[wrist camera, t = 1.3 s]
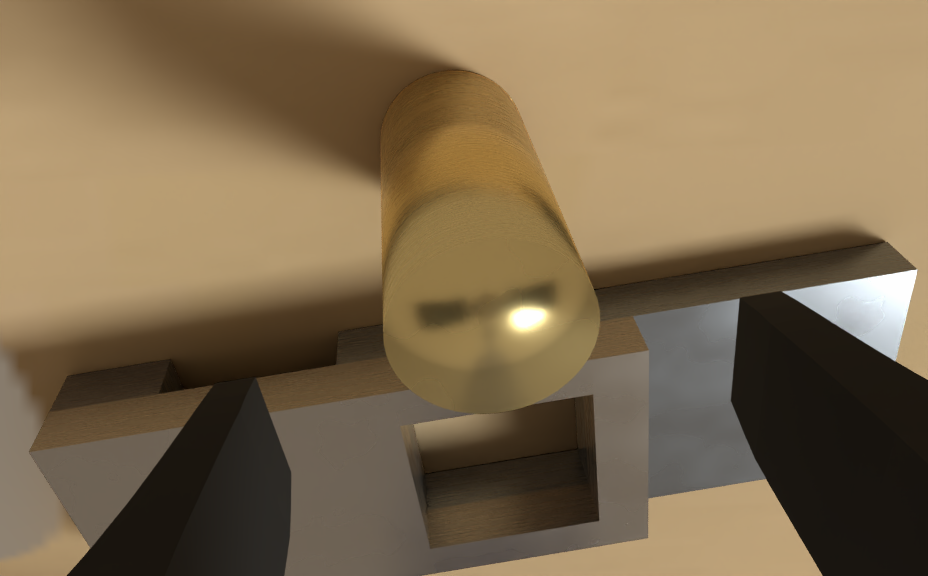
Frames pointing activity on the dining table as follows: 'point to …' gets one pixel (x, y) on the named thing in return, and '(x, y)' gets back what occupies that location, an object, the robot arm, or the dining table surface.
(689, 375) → the gray slotted block
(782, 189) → the dining table surface
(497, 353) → the pin
